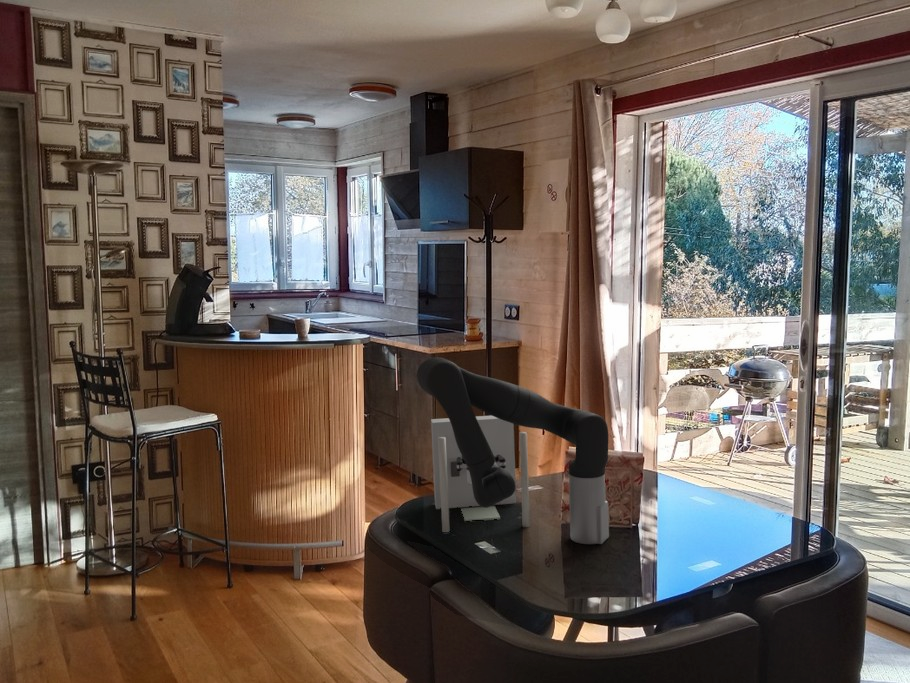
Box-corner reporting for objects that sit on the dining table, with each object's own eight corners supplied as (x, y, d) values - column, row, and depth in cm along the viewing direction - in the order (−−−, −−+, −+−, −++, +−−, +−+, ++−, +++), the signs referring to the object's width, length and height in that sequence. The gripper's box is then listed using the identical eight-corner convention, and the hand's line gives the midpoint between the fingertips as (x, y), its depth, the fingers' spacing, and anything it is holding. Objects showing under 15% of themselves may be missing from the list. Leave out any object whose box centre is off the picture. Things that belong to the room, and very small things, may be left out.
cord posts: (530, 526, 213) (527, 433, 211) (442, 533, 211) (438, 438, 208) (529, 524, 215) (525, 431, 213) (442, 531, 213) (437, 437, 210)
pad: (500, 519, 221) (500, 517, 221) (464, 521, 220) (464, 519, 220) (494, 508, 231) (494, 506, 230) (461, 510, 230) (461, 508, 229)
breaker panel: (517, 505, 232) (514, 418, 229) (436, 511, 230) (432, 424, 227) (513, 498, 239) (510, 414, 236) (434, 503, 237) (431, 419, 234)
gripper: (510, 455, 209) (500, 442, 226) (457, 459, 208) (451, 445, 225) (511, 483, 210) (501, 467, 227) (458, 486, 209) (452, 470, 225)
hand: (476, 456), depth 226 cm, fingers closed on can, 6 cm apart
